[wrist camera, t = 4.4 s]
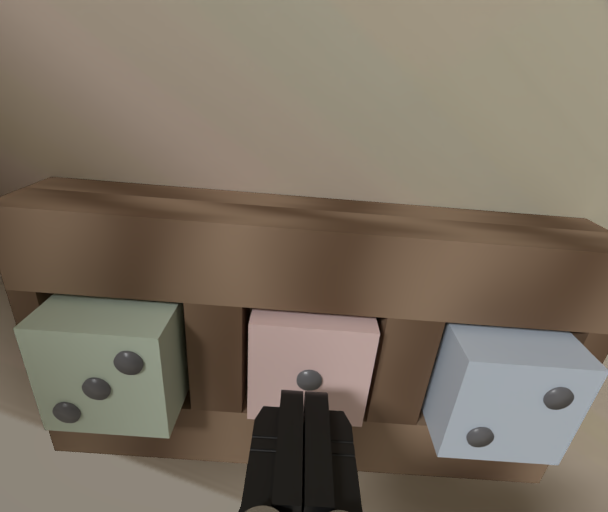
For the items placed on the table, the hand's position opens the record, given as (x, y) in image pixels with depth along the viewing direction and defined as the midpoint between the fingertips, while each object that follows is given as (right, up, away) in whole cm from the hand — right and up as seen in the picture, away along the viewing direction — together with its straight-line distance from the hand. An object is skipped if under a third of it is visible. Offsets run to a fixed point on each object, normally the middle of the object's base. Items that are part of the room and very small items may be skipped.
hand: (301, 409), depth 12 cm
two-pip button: (+7, +1, +3) cm, 8 cm away
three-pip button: (-7, +2, +2) cm, 7 cm away
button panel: (0, +2, +5) cm, 6 cm away
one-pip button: (0, +2, +3) cm, 4 cm away
